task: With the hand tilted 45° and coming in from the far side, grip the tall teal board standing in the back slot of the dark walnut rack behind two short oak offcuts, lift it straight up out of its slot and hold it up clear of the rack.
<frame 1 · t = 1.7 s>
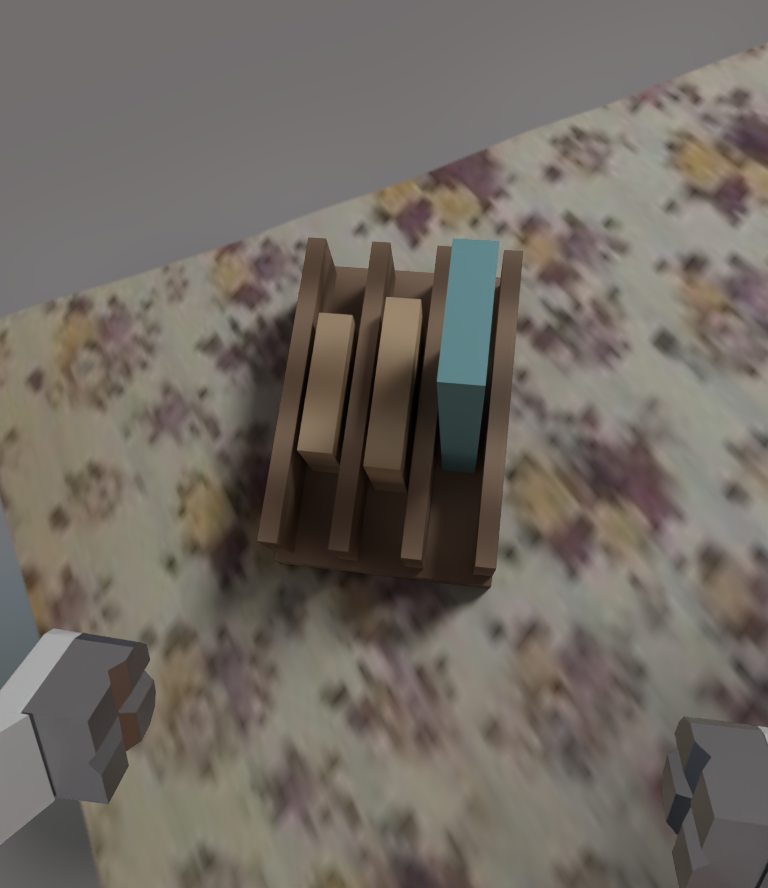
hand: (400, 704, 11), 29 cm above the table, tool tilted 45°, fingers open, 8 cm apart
walnut board rack: (432, 424, 43), on the table
tall teal board: (463, 420, 41), point 1 cm above the table, touching walnut board rack
short oak offcut: (400, 414, 42), point 1 cm above the table, touching walnut board rack
small oak offcut: (338, 408, 42), point 1 cm above the table, touching walnut board rack
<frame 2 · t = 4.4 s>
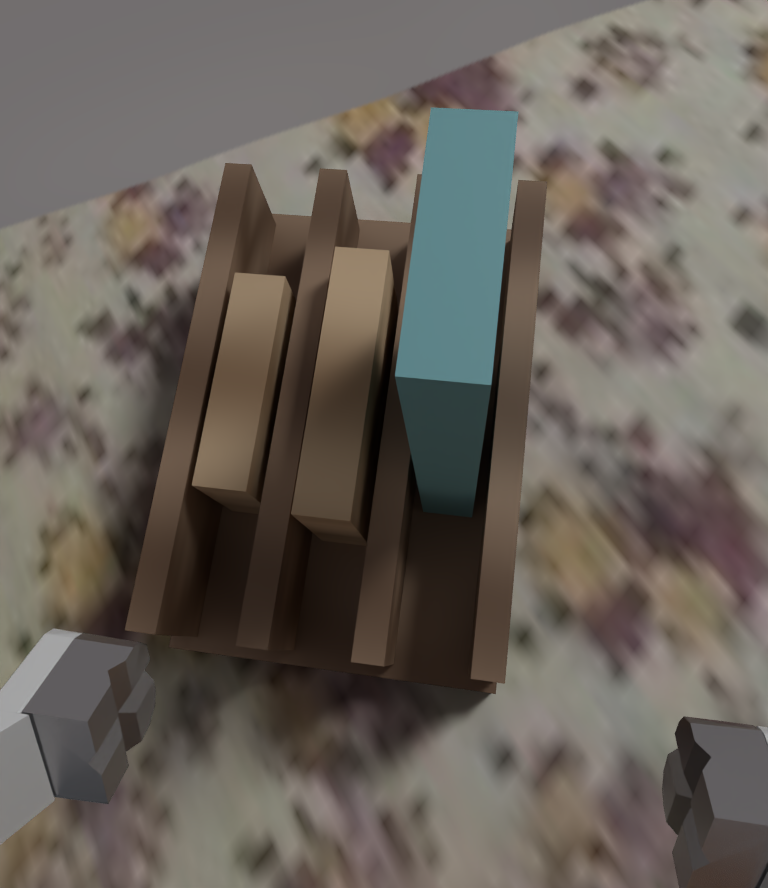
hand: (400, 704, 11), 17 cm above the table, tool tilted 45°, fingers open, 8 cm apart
walnut board rack: (411, 442, 30), on the table
tall teal board: (456, 436, 28), point 1 cm above the table, touching walnut board rack
short oak offcut: (362, 427, 28), point 1 cm above the table, touching walnut board rack
small oak offcut: (272, 418, 29), point 1 cm above the table, touching walnut board rack
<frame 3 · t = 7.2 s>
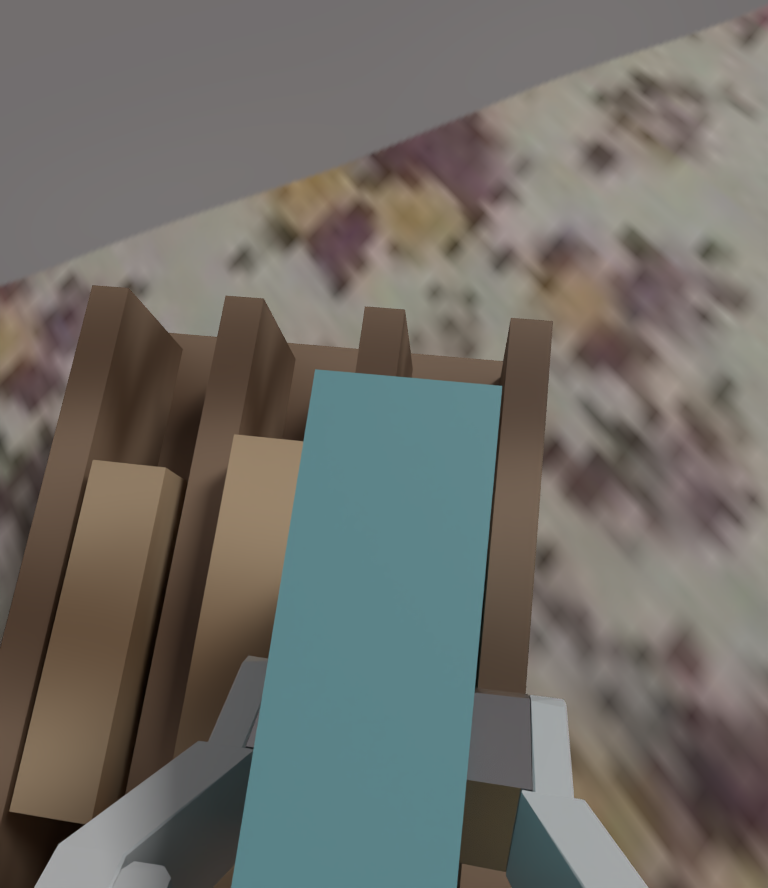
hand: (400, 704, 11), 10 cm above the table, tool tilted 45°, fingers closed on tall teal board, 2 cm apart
walnut board rack: (364, 660, 21), on the table
tall teal board: (423, 669, 20), point 1 cm above the table, touching gripper, walnut board rack
short oak offcut: (293, 651, 20), point 1 cm above the table, touching walnut board rack
small oak offcut: (167, 634, 21), point 1 cm above the table, touching walnut board rack
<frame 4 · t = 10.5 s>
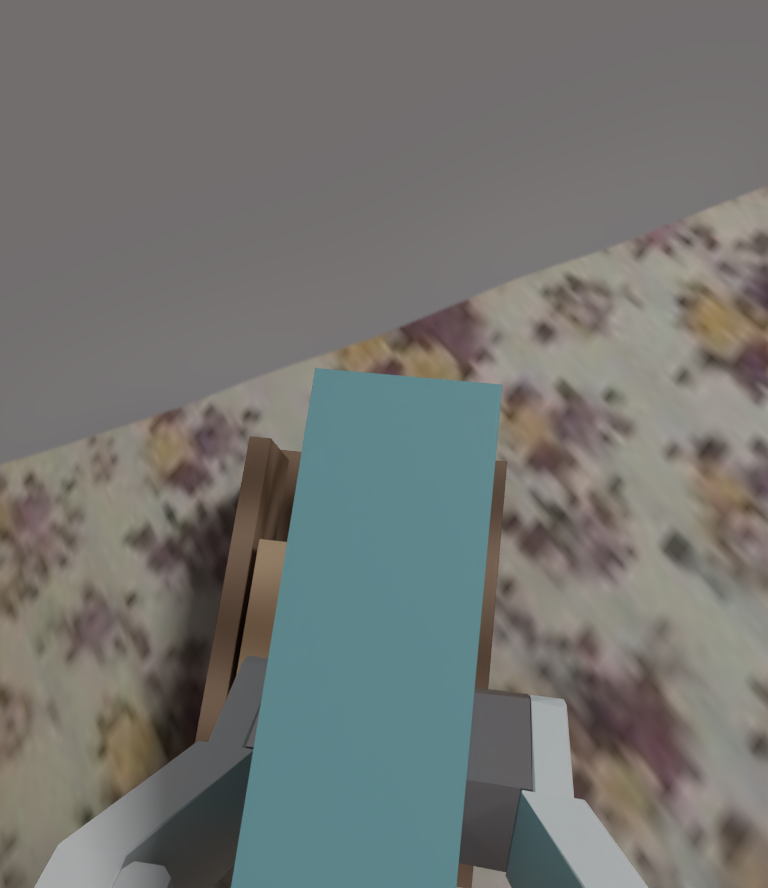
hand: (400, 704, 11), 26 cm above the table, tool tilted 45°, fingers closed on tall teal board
walnut board rack: (400, 647, 36), on the table
tall teal board: (424, 669, 20), point 17 cm above the table, touching gripper
small oak offcut: (287, 633, 35), point 1 cm above the table, touching walnut board rack
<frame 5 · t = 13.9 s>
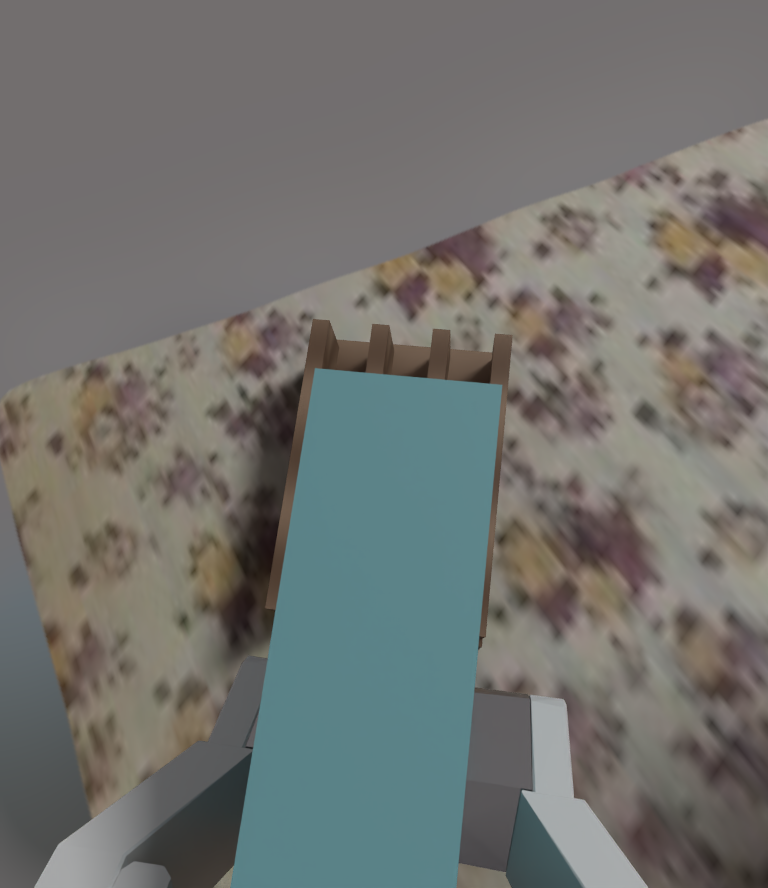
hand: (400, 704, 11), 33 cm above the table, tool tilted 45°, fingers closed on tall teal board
walnut board rack: (428, 490, 46), on the table
tall teal board: (424, 669, 20), point 25 cm above the table, touching gripper
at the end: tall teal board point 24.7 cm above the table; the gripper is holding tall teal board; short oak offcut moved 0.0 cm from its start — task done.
